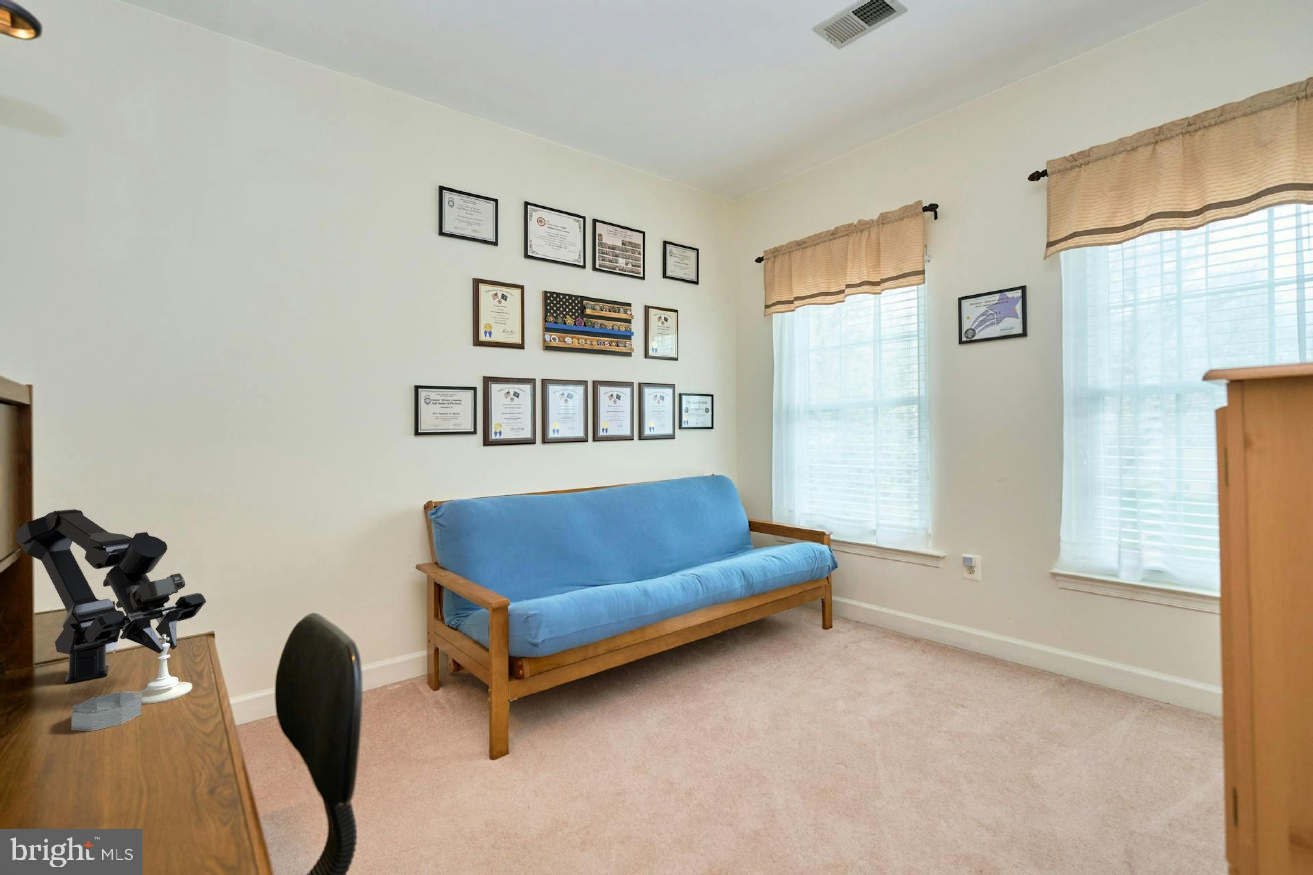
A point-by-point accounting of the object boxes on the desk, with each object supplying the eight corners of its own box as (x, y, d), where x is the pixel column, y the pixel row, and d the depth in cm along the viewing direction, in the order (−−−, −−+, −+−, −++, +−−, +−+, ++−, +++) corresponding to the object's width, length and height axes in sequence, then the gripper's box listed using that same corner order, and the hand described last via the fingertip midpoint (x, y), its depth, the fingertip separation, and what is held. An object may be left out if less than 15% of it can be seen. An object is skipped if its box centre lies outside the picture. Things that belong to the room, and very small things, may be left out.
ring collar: (74, 716, 109) (74, 700, 109) (141, 702, 115) (141, 687, 115) (70, 735, 102) (70, 718, 102) (141, 719, 108) (141, 703, 108)
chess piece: (168, 689, 117) (169, 638, 117) (140, 690, 116) (141, 639, 116) (184, 679, 122) (185, 630, 122) (157, 680, 121) (158, 631, 121)
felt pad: (133, 692, 119) (133, 689, 119) (190, 681, 125) (190, 678, 125) (133, 708, 112) (133, 704, 112) (193, 694, 118) (193, 691, 118)
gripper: (95, 572, 111) (132, 639, 108) (201, 555, 129) (235, 612, 125) (69, 610, 114) (104, 676, 110) (176, 587, 132) (209, 644, 128)
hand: (168, 649), depth 118 cm, fingers closed on chess piece
